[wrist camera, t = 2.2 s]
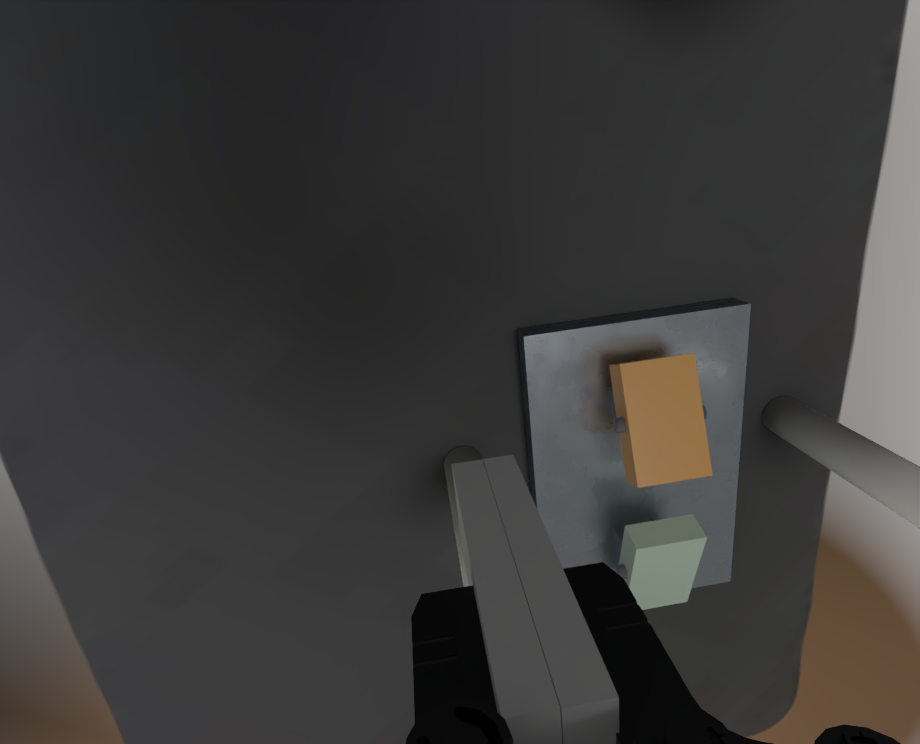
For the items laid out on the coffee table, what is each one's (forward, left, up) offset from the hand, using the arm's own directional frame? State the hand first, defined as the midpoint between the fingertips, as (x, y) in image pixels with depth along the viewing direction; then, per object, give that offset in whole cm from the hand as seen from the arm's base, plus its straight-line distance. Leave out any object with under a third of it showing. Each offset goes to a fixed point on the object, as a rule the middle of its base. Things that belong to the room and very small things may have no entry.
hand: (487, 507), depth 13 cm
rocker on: (+21, +14, -19) cm, 31 cm away
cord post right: (+13, +26, -24) cm, 38 cm away
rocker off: (+9, +14, -19) cm, 25 cm away
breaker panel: (+15, +14, -24) cm, 32 cm away
